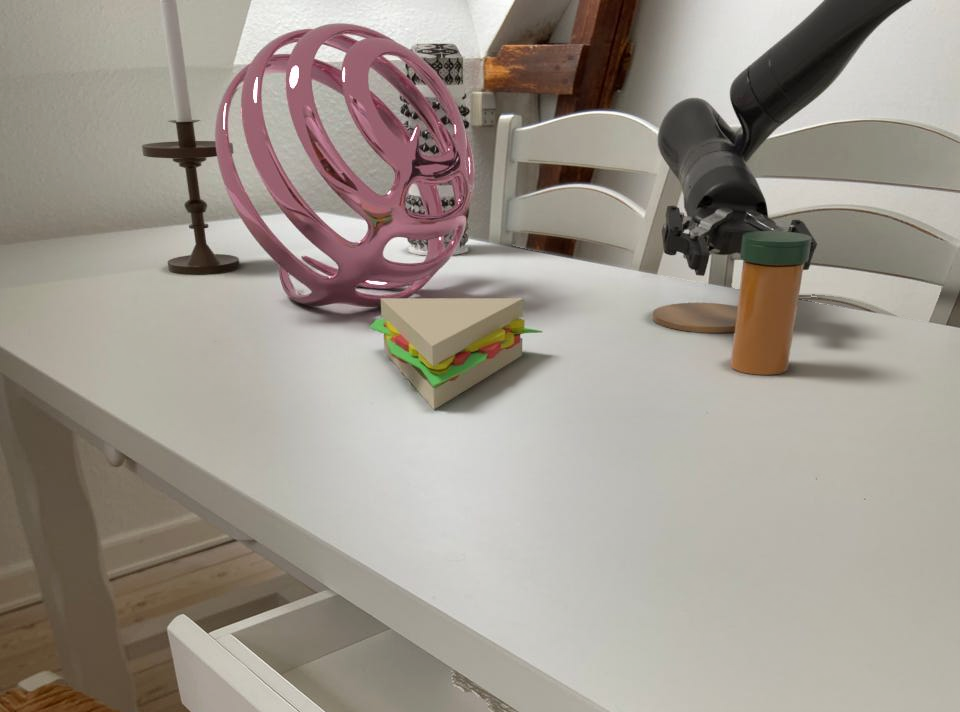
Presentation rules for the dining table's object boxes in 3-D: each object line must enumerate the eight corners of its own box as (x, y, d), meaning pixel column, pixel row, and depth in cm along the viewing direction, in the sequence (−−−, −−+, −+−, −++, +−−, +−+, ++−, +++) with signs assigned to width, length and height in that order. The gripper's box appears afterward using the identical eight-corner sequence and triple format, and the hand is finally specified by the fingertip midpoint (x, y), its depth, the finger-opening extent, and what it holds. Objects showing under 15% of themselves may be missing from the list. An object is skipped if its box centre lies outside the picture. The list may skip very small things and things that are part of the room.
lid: (774, 250, 88) (777, 228, 87) (823, 260, 84) (827, 238, 83) (725, 256, 86) (728, 234, 85) (773, 267, 82) (777, 244, 81)
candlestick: (143, 270, 129) (88, -60, 111) (204, 257, 137) (162, -54, 119) (204, 279, 124) (156, -66, 106) (264, 264, 132) (229, -58, 114)
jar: (759, 356, 92) (776, 235, 87) (799, 369, 89) (819, 244, 83) (718, 364, 90) (733, 240, 85) (758, 378, 87) (776, 249, 81)
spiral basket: (143, 101, 110) (262, -84, 89) (352, 154, 128) (490, 10, 108) (196, 343, 107) (330, 209, 87) (401, 360, 126) (551, 253, 106)
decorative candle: (399, 246, 144) (391, 43, 131) (462, 243, 146) (460, 43, 133) (411, 257, 136) (403, 43, 123) (477, 254, 138) (476, 43, 125)
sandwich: (307, 400, 81) (301, 338, 79) (389, 341, 98) (386, 288, 95) (490, 416, 78) (490, 351, 75) (543, 352, 94) (545, 297, 92)
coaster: (709, 303, 111) (709, 298, 111) (781, 324, 103) (782, 318, 103) (631, 316, 107) (631, 310, 106) (700, 338, 98) (701, 332, 98)
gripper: (663, 156, 101) (682, 221, 89) (801, 172, 101) (838, 239, 90) (647, 230, 106) (663, 301, 94) (778, 245, 107) (811, 317, 95)
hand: (749, 270), depth 92 cm, fingers open, 8 cm apart
